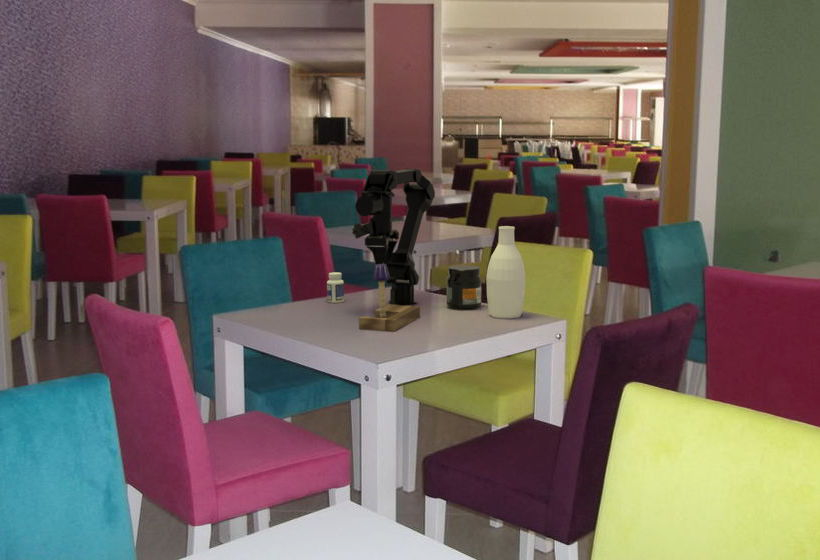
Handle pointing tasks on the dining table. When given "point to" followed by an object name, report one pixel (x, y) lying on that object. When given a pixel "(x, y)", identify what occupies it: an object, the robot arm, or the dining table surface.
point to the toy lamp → (381, 285)
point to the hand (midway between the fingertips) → (382, 267)
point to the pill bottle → (335, 288)
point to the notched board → (390, 318)
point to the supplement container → (463, 287)
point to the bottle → (505, 277)
